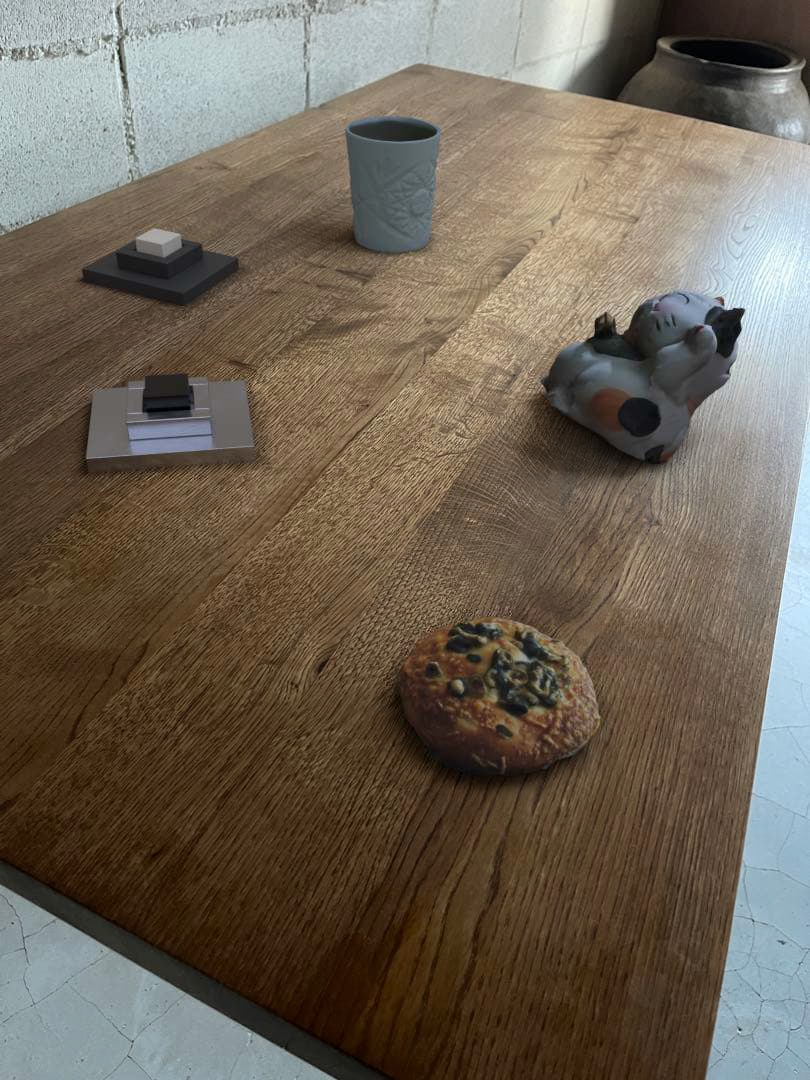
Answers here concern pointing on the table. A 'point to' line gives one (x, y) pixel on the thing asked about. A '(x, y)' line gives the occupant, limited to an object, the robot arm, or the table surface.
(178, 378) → the front key
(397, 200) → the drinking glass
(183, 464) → the grey holder base
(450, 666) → the bread roll
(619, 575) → the table surface
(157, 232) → the back key
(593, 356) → the lucky cat figurine
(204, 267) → the back keypad
